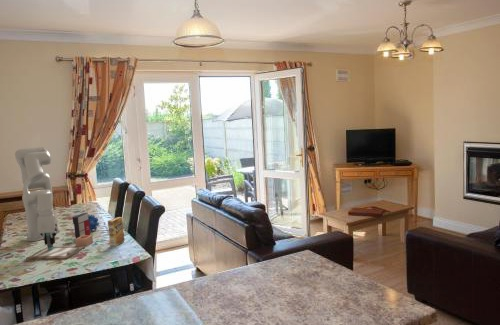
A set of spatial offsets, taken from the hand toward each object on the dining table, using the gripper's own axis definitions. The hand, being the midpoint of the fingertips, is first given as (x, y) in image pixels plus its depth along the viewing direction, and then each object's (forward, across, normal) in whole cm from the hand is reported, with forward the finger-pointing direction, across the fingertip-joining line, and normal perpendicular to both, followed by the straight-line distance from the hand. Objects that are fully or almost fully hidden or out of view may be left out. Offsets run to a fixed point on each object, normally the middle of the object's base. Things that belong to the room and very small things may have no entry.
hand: (50, 243), depth 222 cm
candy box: (+5, +35, +12) cm, 37 cm away
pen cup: (+5, +14, +12) cm, 19 cm away
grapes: (+5, +3, +40) cm, 41 cm away
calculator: (+5, +5, +26) cm, 27 cm away
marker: (+3, 0, 0) cm, 3 cm away
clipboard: (+5, +6, -4) cm, 9 cm away
